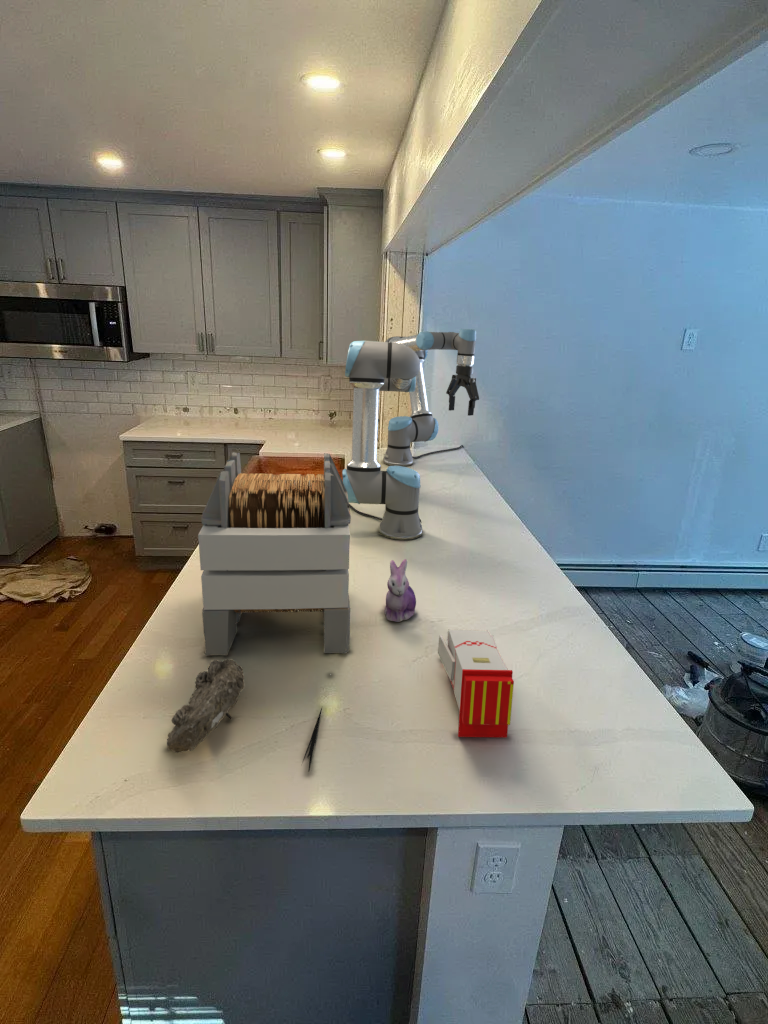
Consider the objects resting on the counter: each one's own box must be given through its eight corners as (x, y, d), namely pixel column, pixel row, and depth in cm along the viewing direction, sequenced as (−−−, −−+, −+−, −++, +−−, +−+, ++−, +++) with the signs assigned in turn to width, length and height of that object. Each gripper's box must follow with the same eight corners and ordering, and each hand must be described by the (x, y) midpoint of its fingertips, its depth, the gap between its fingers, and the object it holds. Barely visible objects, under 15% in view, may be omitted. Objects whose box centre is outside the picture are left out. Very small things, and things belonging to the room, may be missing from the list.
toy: (488, 613, 130) (523, 677, 101) (484, 667, 133) (517, 744, 104) (435, 612, 130) (455, 676, 101) (432, 666, 133) (451, 743, 103)
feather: (331, 679, 122) (336, 673, 122) (307, 777, 96) (313, 769, 95) (324, 675, 122) (329, 669, 121) (298, 772, 95) (304, 764, 95)
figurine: (392, 627, 141) (395, 572, 136) (374, 608, 149) (376, 556, 144) (425, 619, 145) (429, 566, 140) (405, 601, 154) (408, 550, 149)
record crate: (226, 586, 157) (217, 442, 143) (344, 585, 161) (346, 445, 147) (202, 658, 125) (189, 482, 112) (350, 654, 129) (354, 483, 115)
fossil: (192, 660, 117) (244, 628, 112) (224, 691, 120) (276, 661, 115) (142, 746, 98) (202, 712, 93) (182, 779, 101) (242, 748, 96)
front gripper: (388, 404, 233) (385, 459, 241) (365, 398, 247) (364, 450, 255) (372, 405, 229) (370, 461, 237) (350, 398, 243) (349, 451, 251)
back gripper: (490, 368, 245) (485, 417, 252) (453, 362, 265) (449, 407, 272) (477, 368, 241) (472, 418, 249) (441, 362, 261) (437, 408, 268)
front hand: (367, 455), depth 246 cm, fingers closed on block, 5 cm apart
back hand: (460, 412), depth 260 cm, fingers open, 13 cm apart
